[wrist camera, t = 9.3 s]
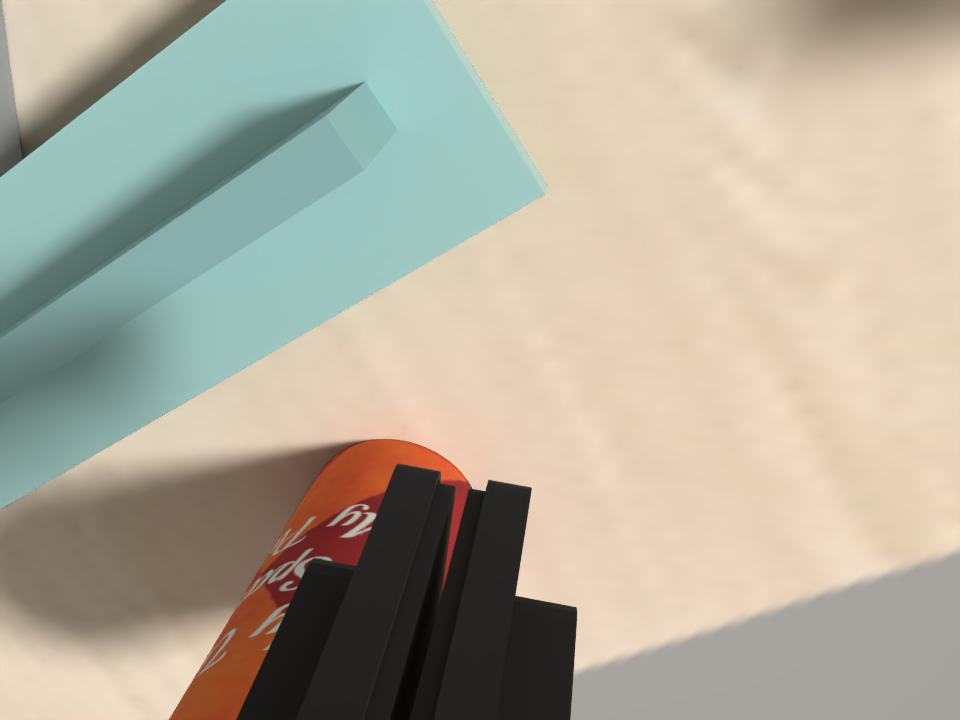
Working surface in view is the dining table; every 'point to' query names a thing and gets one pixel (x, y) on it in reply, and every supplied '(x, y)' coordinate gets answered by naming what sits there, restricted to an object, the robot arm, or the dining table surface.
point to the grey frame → (7, 109)
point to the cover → (233, 211)
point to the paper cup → (309, 534)
